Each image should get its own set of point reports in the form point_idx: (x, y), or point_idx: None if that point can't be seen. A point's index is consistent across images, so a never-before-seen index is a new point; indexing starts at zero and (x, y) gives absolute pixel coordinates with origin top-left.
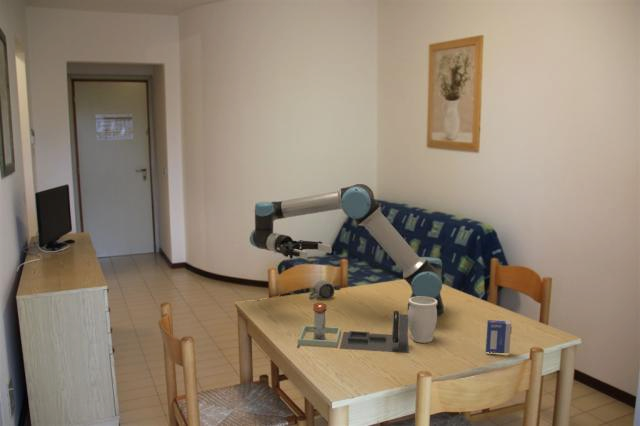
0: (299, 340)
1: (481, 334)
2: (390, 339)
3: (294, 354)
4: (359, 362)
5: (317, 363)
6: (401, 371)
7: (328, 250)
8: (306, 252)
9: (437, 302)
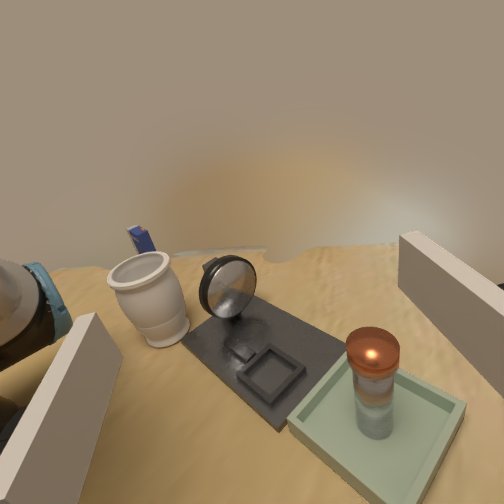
0: (460, 401)
1: (91, 310)
2: (222, 339)
3: (482, 383)
4: (338, 302)
5: (427, 324)
6: (297, 267)
7: (108, 359)
8: (411, 234)
9: (129, 260)
